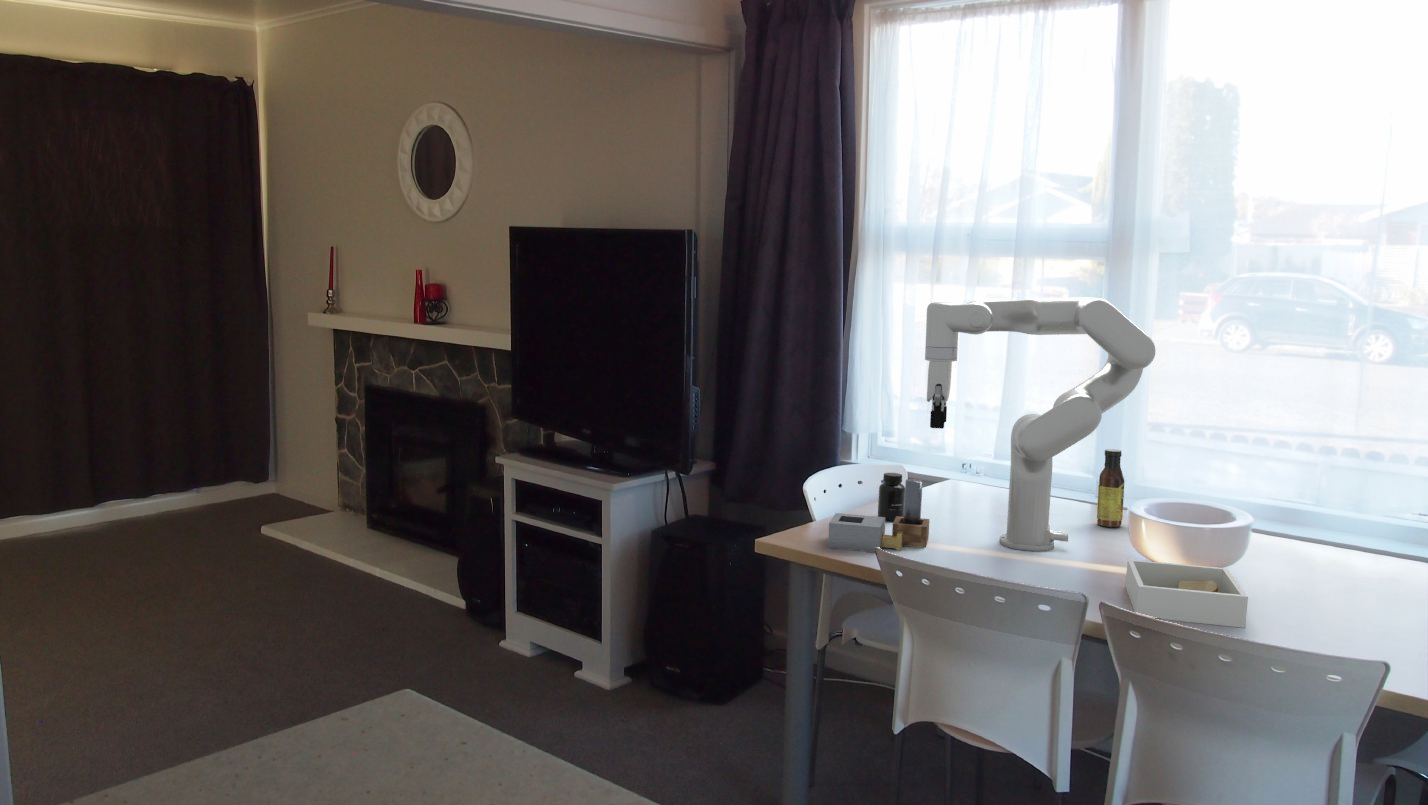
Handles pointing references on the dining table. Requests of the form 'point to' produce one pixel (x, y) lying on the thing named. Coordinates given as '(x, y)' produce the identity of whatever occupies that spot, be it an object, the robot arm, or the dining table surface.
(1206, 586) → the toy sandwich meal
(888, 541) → the tan blocky piece
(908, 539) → the wooden open box
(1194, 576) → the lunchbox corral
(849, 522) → the socket block
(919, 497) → the grey rounded bar
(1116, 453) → the sauce bottle
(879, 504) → the supplement bottle
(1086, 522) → the dining table surface
